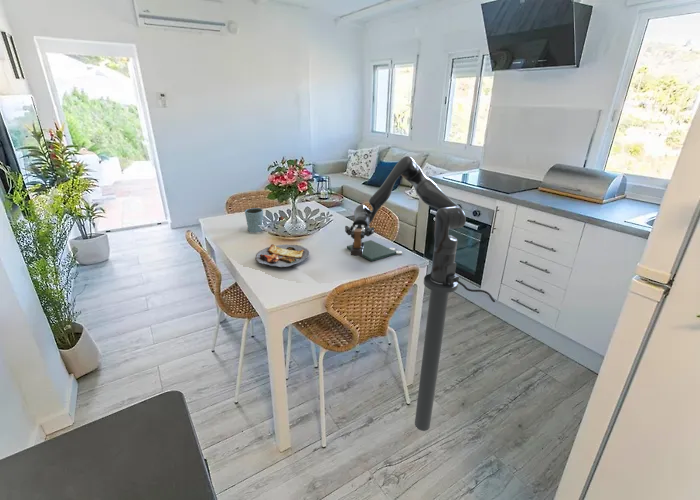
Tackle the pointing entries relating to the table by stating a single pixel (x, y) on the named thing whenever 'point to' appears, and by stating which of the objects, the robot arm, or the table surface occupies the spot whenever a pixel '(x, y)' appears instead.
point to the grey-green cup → (254, 219)
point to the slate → (374, 250)
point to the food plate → (282, 255)
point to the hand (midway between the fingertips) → (357, 236)
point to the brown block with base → (357, 244)
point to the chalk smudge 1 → (398, 252)
